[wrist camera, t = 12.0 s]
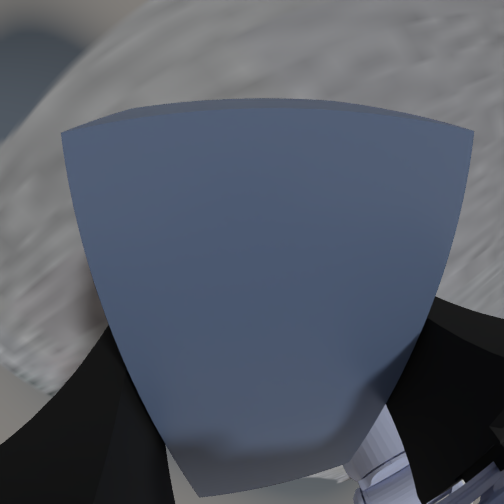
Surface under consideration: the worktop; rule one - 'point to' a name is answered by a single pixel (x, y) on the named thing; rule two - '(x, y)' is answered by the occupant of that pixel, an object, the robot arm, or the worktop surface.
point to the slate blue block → (265, 269)
